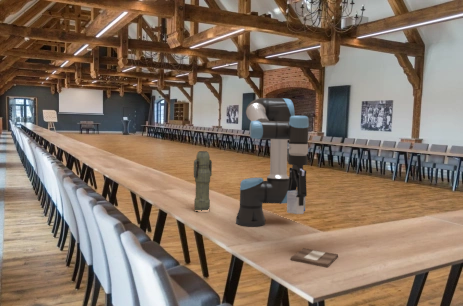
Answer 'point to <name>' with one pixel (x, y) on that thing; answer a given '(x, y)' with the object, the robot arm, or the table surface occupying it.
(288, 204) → the medicine box
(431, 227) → the table surface
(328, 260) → the pad
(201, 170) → the green robed figurine
